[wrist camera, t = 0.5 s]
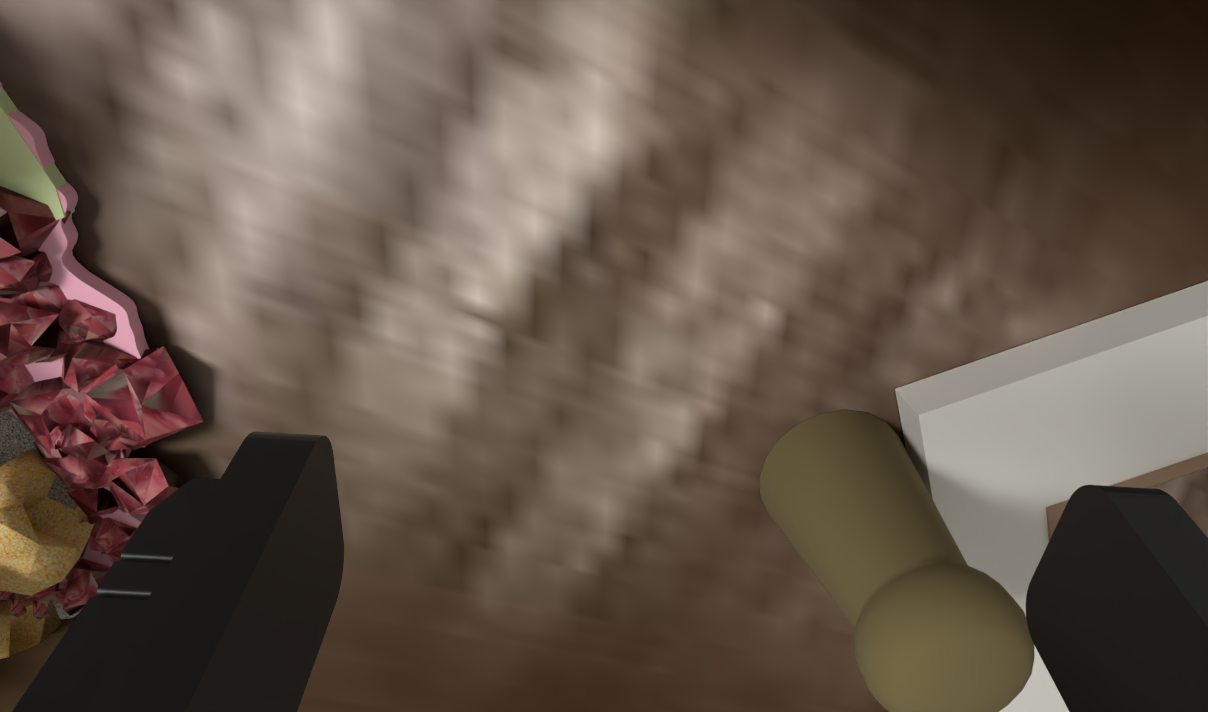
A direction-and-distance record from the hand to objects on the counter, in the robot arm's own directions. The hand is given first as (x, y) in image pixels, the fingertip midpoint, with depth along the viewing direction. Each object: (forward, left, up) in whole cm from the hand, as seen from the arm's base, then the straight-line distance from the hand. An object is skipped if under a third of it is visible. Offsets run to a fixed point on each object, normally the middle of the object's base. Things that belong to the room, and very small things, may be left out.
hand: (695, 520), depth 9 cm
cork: (+16, +6, -20) cm, 27 cm away
